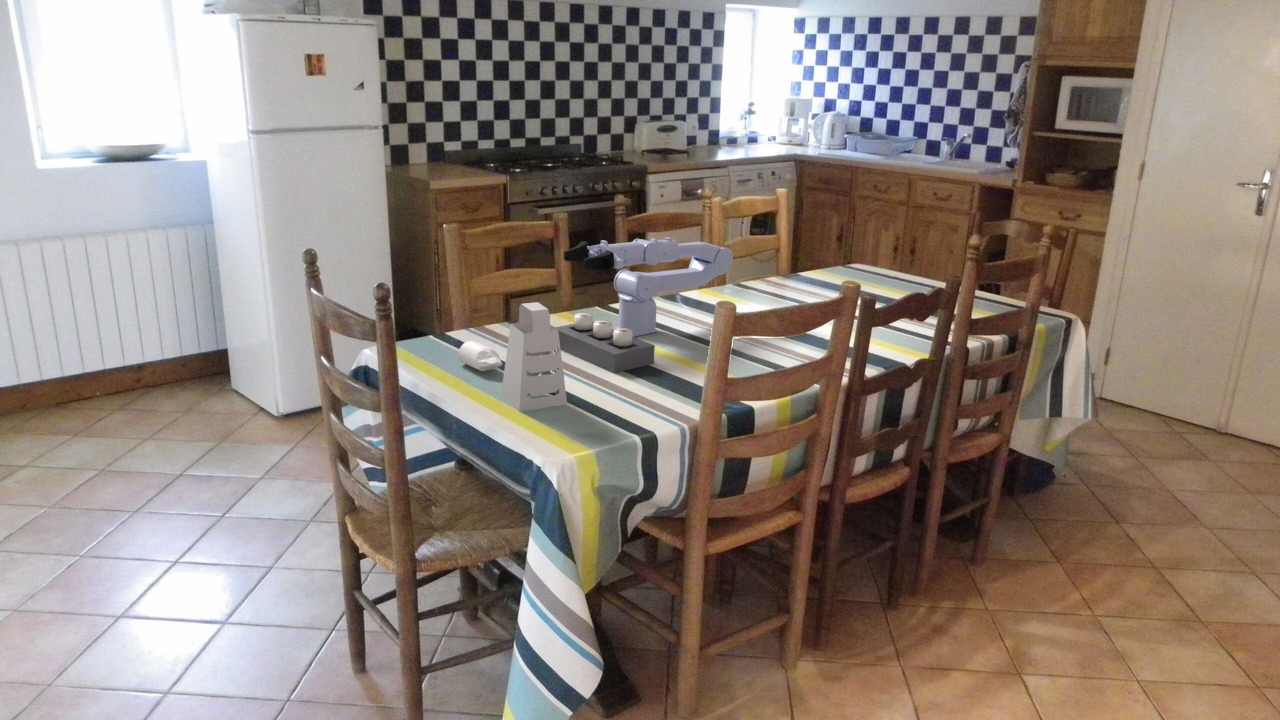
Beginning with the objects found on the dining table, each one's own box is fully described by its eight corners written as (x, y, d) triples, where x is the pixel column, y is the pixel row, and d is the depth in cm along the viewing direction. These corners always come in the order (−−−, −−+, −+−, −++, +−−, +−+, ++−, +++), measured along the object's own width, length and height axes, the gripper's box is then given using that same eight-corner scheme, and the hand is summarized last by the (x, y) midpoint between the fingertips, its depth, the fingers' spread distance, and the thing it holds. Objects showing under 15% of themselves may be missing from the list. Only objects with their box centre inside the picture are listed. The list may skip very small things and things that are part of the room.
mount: (590, 337, 237) (591, 320, 236) (653, 363, 220) (654, 345, 219) (551, 345, 230) (552, 327, 228) (614, 373, 212) (614, 354, 211)
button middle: (603, 331, 226) (604, 319, 225) (615, 336, 223) (615, 323, 222) (589, 334, 223) (589, 322, 222) (600, 339, 220) (601, 326, 219)
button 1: (584, 323, 231) (585, 312, 231) (595, 328, 228) (596, 316, 227) (570, 326, 229) (570, 314, 228) (581, 331, 226) (581, 319, 225)
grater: (547, 387, 202) (548, 297, 196) (567, 404, 193) (569, 310, 187) (501, 394, 197) (500, 302, 191) (519, 411, 189) (519, 315, 182)
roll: (486, 380, 205) (486, 356, 203) (458, 365, 213) (457, 342, 211) (509, 375, 209) (509, 351, 207) (480, 360, 217) (480, 337, 215)
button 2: (623, 339, 221) (624, 327, 220) (635, 344, 218) (636, 331, 217) (609, 342, 218) (609, 330, 217) (621, 347, 215) (621, 335, 214)
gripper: (601, 232, 236) (557, 236, 228) (638, 246, 226) (594, 251, 218) (598, 259, 239) (555, 264, 230) (635, 274, 229) (591, 280, 220)
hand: (574, 260), depth 224 cm, fingers open, 7 cm apart
